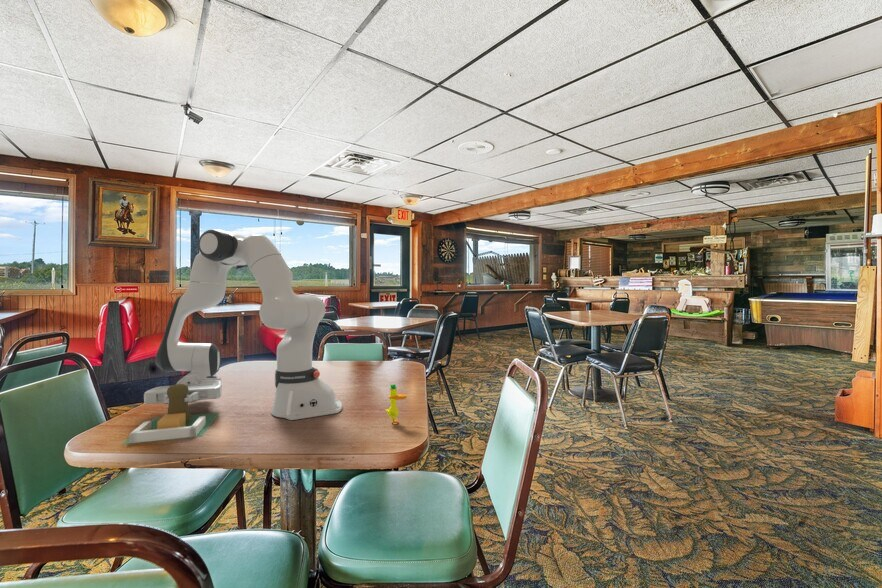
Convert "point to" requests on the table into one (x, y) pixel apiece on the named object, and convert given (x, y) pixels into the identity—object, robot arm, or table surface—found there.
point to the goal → (165, 432)
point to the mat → (209, 420)
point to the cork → (178, 400)
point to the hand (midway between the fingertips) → (176, 400)
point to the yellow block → (172, 421)
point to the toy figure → (394, 402)
